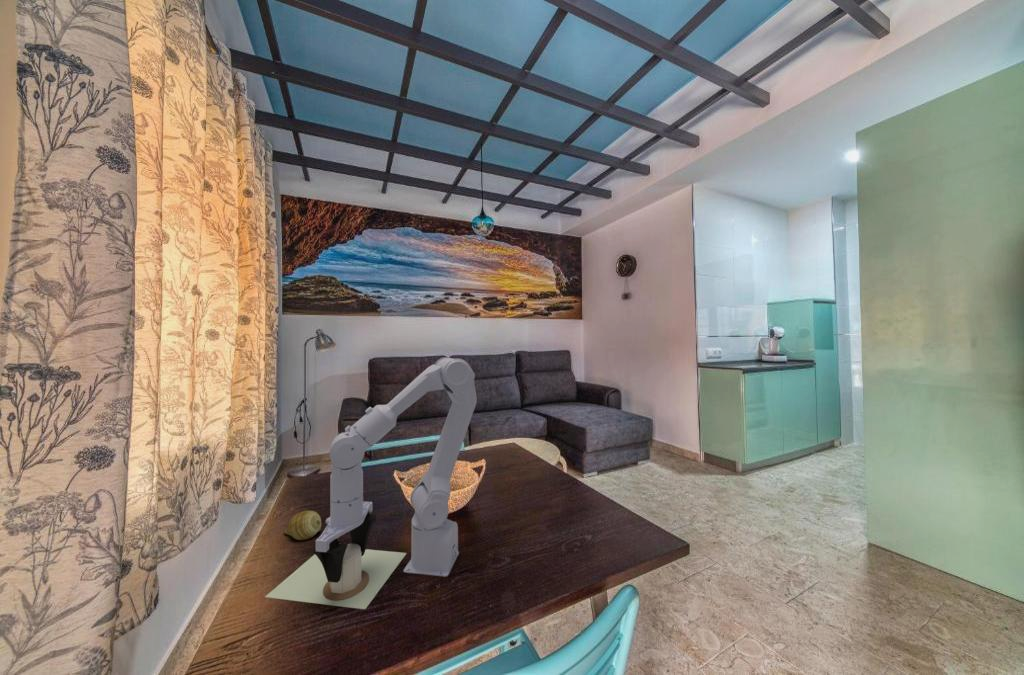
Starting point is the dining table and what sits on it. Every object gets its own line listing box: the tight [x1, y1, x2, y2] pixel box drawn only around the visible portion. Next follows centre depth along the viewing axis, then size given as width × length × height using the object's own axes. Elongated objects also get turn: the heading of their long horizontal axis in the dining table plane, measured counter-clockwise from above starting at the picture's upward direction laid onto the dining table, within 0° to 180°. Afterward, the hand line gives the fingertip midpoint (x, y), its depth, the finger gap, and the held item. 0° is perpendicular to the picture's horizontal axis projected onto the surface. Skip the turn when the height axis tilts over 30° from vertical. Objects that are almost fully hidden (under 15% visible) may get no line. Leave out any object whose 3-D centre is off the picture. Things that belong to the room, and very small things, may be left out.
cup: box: [330, 543, 361, 594], centre depth 65 cm, size 5×5×6 cm
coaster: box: [323, 570, 369, 601], centre depth 65 cm, size 8×8×1 cm
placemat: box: [264, 548, 407, 610], centre depth 69 cm, size 20×16×1 cm
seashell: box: [283, 509, 322, 541], centre depth 83 cm, size 10×7×8 cm
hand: (347, 567), depth 65 cm, fingers open, 7 cm apart
